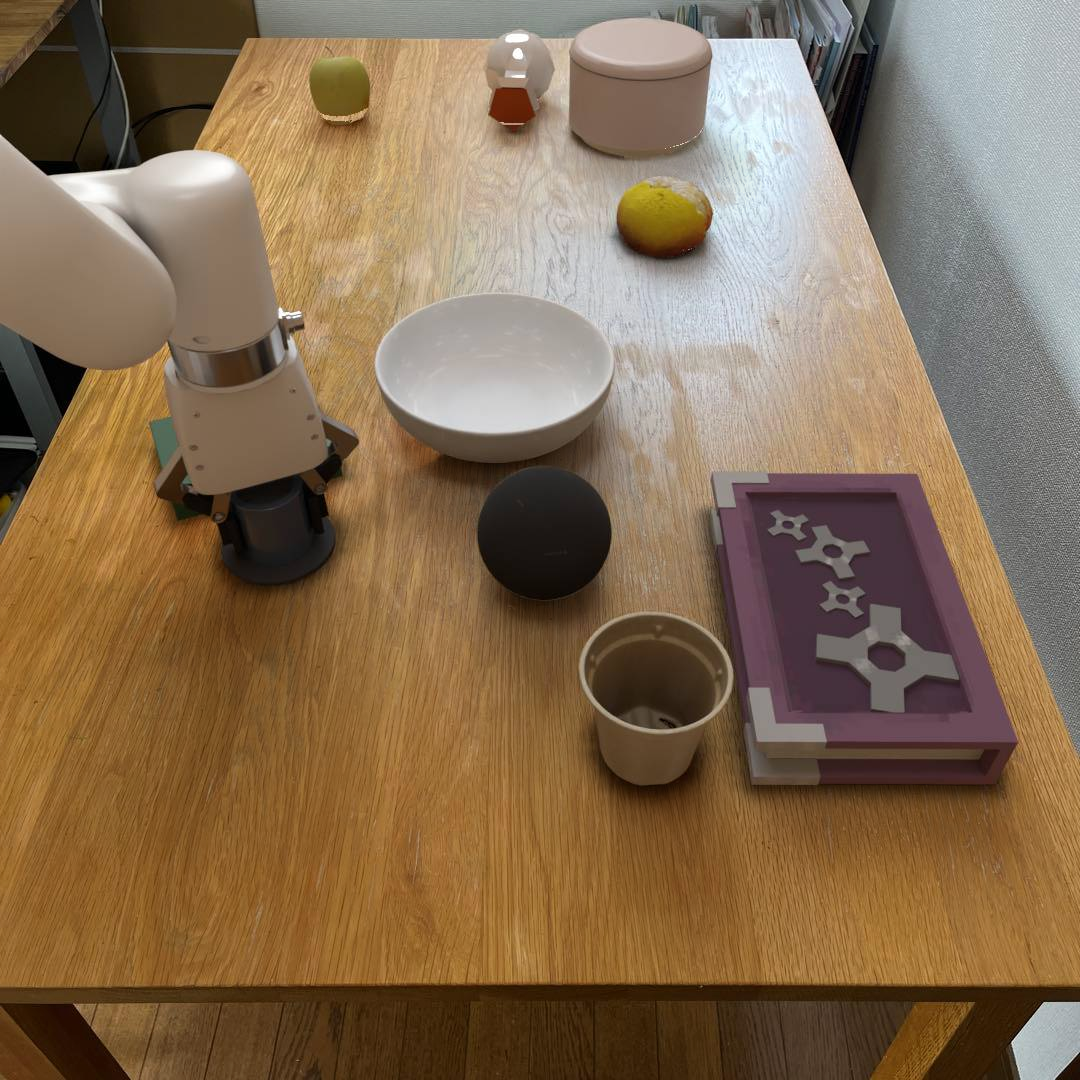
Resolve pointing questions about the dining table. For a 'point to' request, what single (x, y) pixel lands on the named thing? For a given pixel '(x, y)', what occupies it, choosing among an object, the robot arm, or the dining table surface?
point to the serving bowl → (495, 375)
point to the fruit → (663, 217)
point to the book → (852, 634)
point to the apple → (339, 87)
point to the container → (638, 86)
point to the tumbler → (274, 521)
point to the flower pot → (653, 692)
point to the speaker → (544, 533)
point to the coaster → (284, 573)
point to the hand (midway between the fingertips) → (276, 532)
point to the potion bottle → (517, 76)
